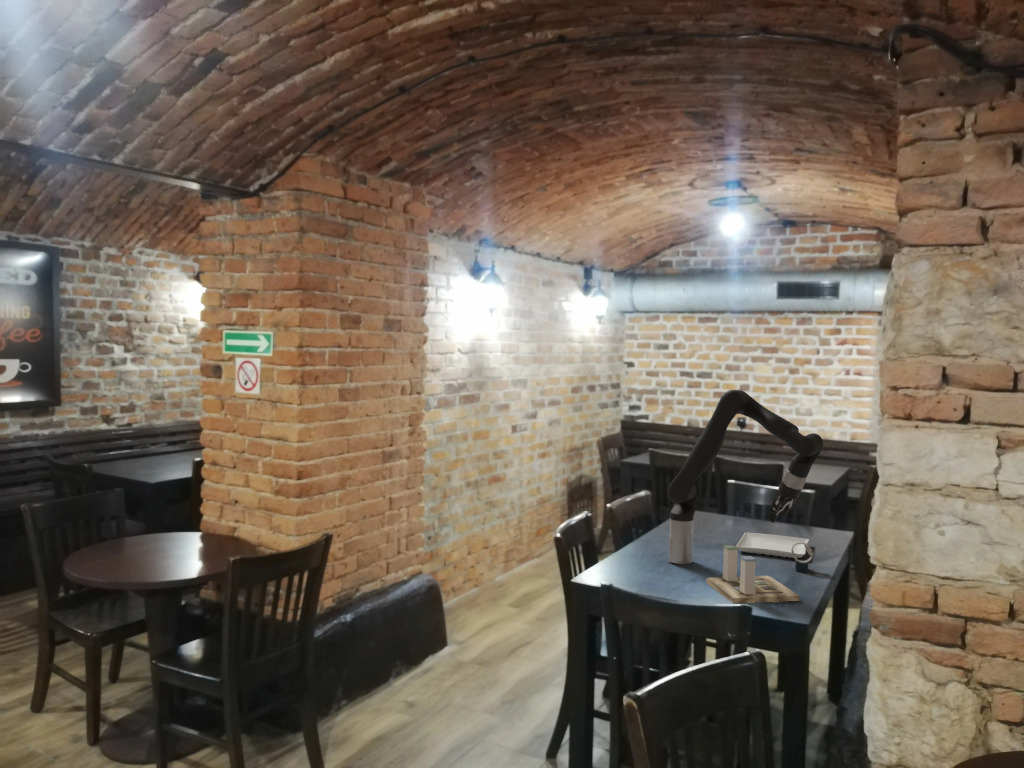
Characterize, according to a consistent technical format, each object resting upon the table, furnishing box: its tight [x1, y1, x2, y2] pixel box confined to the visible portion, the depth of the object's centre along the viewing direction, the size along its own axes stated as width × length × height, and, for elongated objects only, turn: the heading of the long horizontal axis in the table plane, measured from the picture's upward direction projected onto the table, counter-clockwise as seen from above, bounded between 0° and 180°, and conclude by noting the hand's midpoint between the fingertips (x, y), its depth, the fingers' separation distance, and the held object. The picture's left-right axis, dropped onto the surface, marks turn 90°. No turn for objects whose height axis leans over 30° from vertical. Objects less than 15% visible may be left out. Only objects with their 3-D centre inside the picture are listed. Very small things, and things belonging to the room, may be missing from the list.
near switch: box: [739, 555, 757, 594], centre depth 261 cm, size 4×4×12 cm
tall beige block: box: [721, 544, 739, 581], centre depth 274 cm, size 4×4×12 cm
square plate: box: [735, 532, 810, 559], centre depth 324 cm, size 27×27×4 cm
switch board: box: [706, 575, 800, 604], centre depth 269 cm, size 24×22×2 cm
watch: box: [791, 541, 814, 573], centre depth 295 cm, size 6×8×11 cm
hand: (777, 518), depth 285 cm, fingers open, 8 cm apart
